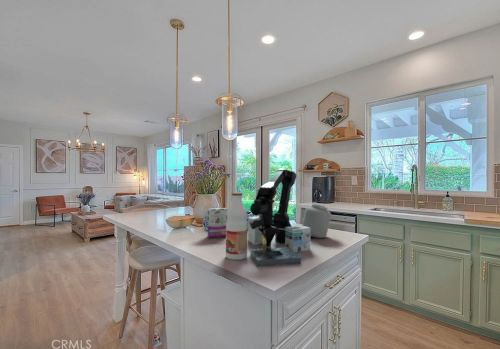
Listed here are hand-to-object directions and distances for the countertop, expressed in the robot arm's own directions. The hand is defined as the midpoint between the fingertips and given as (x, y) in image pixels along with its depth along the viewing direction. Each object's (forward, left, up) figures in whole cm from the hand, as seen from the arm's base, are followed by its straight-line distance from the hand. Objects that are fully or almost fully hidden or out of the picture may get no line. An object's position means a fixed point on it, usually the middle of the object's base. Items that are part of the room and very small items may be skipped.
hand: (266, 245), depth 114 cm
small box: (+2, -14, -2) cm, 14 cm away
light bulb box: (-15, +2, -2) cm, 15 cm away
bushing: (0, 0, -2) cm, 2 cm away
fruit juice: (+16, +7, -2) cm, 17 cm away
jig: (0, +13, -2) cm, 13 cm away
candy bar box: (+22, -29, -2) cm, 36 cm away
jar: (-36, -19, -2) cm, 41 cm away
